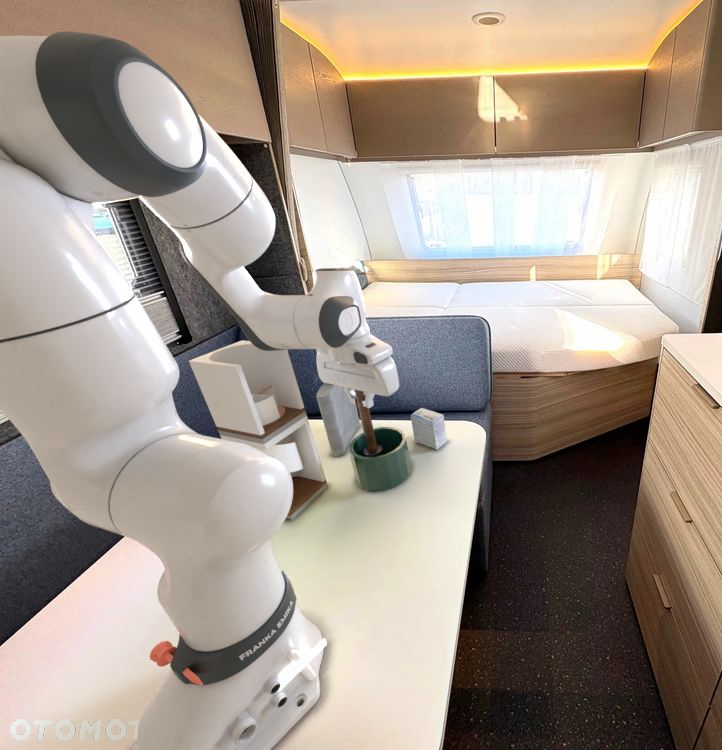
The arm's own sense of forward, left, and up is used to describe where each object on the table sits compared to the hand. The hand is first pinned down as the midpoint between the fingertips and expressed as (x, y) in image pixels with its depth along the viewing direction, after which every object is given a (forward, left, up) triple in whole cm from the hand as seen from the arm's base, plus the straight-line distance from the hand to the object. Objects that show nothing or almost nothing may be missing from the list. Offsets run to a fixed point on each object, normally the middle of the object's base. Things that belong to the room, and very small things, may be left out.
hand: (362, 405), depth 86 cm
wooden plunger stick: (0, 0, -17) cm, 17 cm away
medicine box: (+15, -5, -19) cm, 25 cm away
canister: (0, -2, -18) cm, 19 cm away
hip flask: (+7, +18, -19) cm, 27 cm away
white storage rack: (-15, +12, -19) cm, 27 cm away
